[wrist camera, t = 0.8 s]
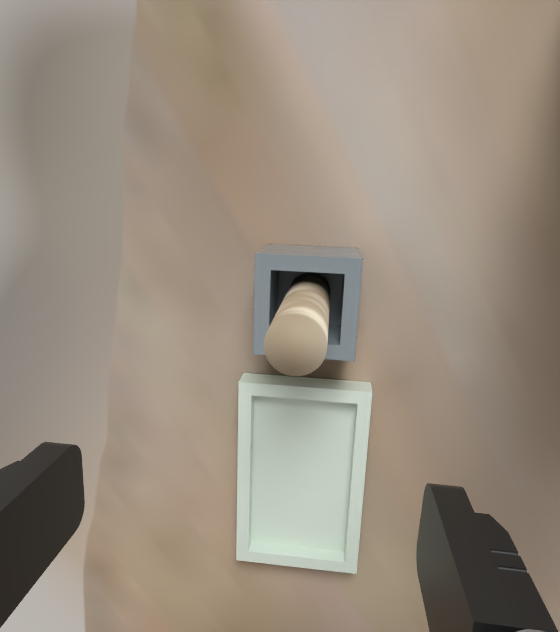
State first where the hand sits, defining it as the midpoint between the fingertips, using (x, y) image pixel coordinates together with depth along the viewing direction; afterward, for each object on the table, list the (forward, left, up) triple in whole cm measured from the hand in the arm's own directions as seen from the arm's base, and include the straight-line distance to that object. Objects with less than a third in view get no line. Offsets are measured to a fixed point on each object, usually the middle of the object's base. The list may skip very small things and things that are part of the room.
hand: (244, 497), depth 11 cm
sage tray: (0, +15, -26) cm, 30 cm away
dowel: (0, 0, -25) cm, 25 cm away
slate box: (0, 0, -26) cm, 26 cm away
